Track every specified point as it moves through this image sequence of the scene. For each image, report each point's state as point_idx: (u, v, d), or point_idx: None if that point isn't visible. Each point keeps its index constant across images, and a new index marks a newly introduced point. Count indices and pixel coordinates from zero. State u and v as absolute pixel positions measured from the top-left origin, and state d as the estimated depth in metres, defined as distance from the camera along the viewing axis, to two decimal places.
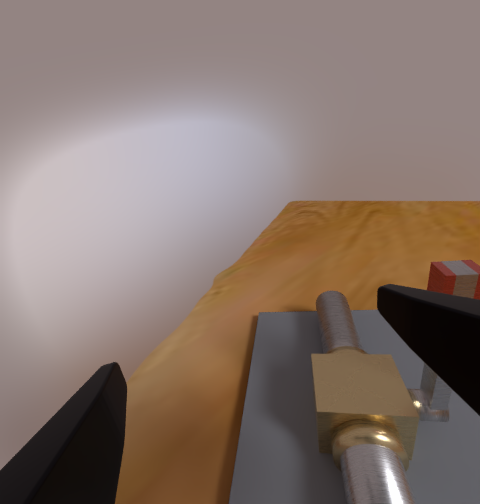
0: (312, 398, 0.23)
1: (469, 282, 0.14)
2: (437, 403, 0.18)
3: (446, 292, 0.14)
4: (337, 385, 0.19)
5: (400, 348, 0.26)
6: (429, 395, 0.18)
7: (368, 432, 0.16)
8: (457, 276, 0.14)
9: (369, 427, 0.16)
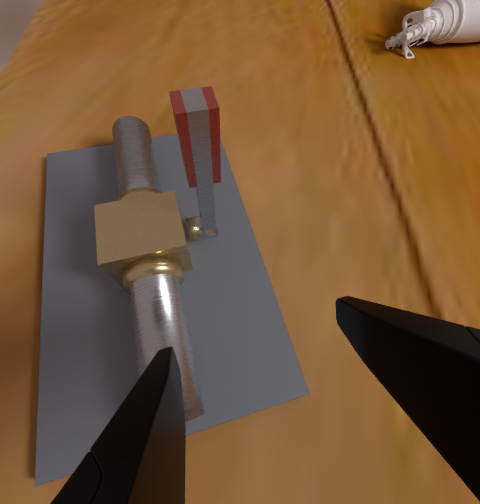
0: None
1: (201, 119, 0.12)
2: (207, 226, 0.21)
3: (182, 133, 0.13)
4: (119, 234, 0.19)
5: None
6: (202, 221, 0.21)
7: (145, 268, 0.18)
8: (188, 113, 0.12)
9: (146, 264, 0.18)
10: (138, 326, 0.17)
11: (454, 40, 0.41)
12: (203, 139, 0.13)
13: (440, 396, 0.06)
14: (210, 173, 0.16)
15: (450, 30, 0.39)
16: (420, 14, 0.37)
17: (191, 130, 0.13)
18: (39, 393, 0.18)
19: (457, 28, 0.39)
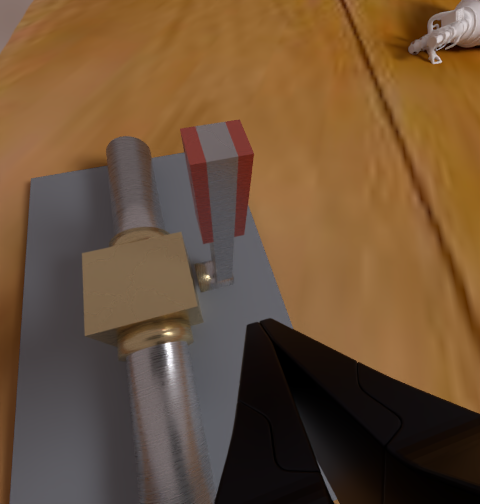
0: None
1: (227, 170, 0.09)
2: (222, 276, 0.17)
3: (199, 187, 0.09)
4: (113, 292, 0.15)
5: None
6: (215, 271, 0.17)
7: (145, 338, 0.14)
8: (208, 163, 0.08)
9: (147, 331, 0.15)
10: (137, 417, 0.14)
11: None
12: (227, 192, 0.10)
13: (327, 438, 0.06)
14: (231, 227, 0.12)
15: None
16: (451, 15, 0.33)
17: (211, 183, 0.09)
18: (11, 498, 0.14)
19: None
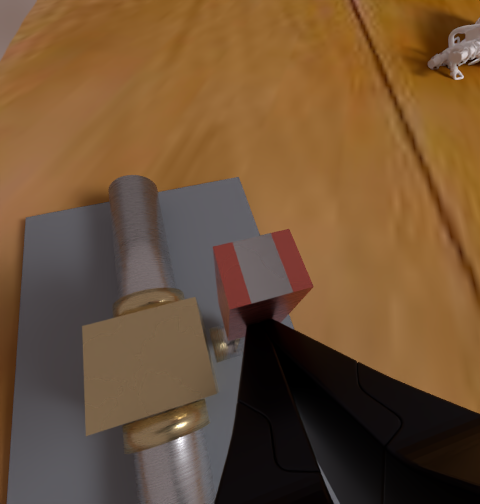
0: None
1: (275, 301, 0.06)
2: (242, 349, 0.15)
3: (236, 317, 0.07)
4: (118, 376, 0.13)
5: (221, 243, 0.21)
6: (234, 343, 0.15)
7: (157, 434, 0.12)
8: (254, 303, 0.06)
9: (159, 426, 0.13)
10: None
11: None
12: (268, 312, 0.07)
13: (327, 438, 0.05)
14: None
15: None
16: (477, 30, 0.31)
17: (252, 312, 0.07)
18: None
19: None
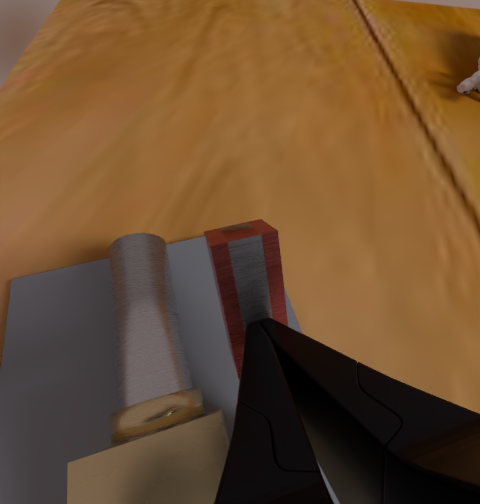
0: None
1: (252, 252, 0.08)
2: None
3: (223, 277, 0.08)
4: None
5: None
6: None
7: None
8: (230, 243, 0.08)
9: None
10: None
11: None
12: (257, 285, 0.08)
13: (328, 438, 0.05)
14: None
15: None
16: None
17: (237, 271, 0.08)
18: None
19: None
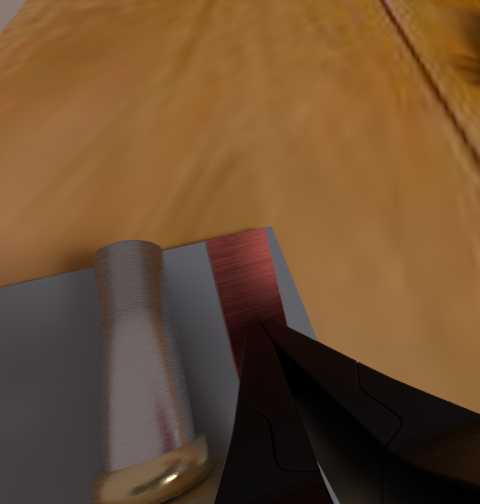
0: None
1: (243, 247, 0.09)
2: None
3: (219, 270, 0.09)
4: None
5: None
6: None
7: None
8: (223, 238, 0.09)
9: None
10: None
11: None
12: (251, 279, 0.09)
13: (327, 438, 0.05)
14: None
15: None
16: None
17: (231, 264, 0.09)
18: None
19: None
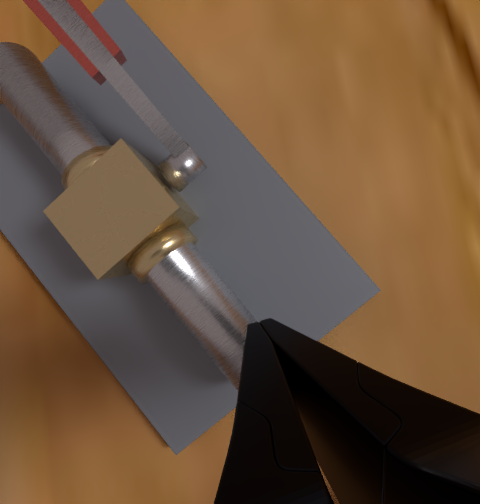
0: None
1: None
2: (172, 145, 0.15)
3: None
4: (95, 232, 0.15)
5: (137, 84, 0.19)
6: (165, 146, 0.15)
7: (150, 257, 0.15)
8: None
9: (148, 251, 0.15)
10: (181, 316, 0.15)
11: None
12: None
13: (328, 438, 0.05)
14: (96, 40, 0.13)
15: None
16: None
17: None
18: (131, 395, 0.19)
19: None
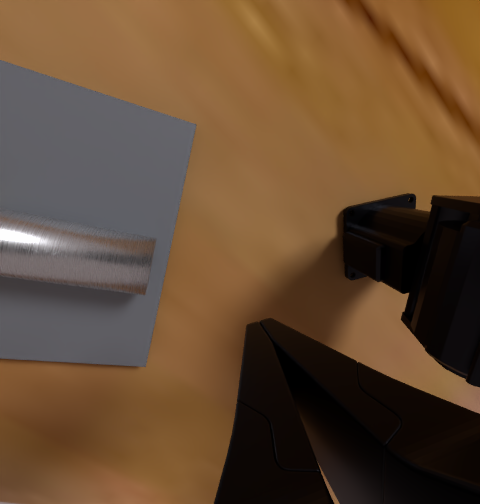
0: None
1: None
2: None
3: None
4: None
5: None
6: None
7: None
8: None
9: None
10: (25, 276, 0.14)
11: None
12: None
13: (327, 438, 0.06)
14: None
15: None
16: None
17: None
18: (71, 361, 0.19)
19: None
